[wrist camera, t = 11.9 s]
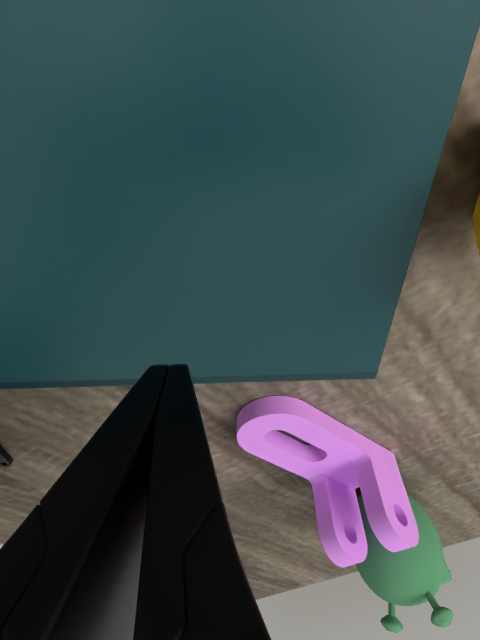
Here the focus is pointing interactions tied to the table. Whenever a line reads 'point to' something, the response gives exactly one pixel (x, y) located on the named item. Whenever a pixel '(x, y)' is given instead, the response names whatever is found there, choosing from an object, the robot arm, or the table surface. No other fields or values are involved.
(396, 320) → the table surface
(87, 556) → the robot arm
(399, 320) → the table surface
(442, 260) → the table surface
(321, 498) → the bracket
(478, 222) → the rubber duck
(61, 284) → the book
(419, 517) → the alien toy
